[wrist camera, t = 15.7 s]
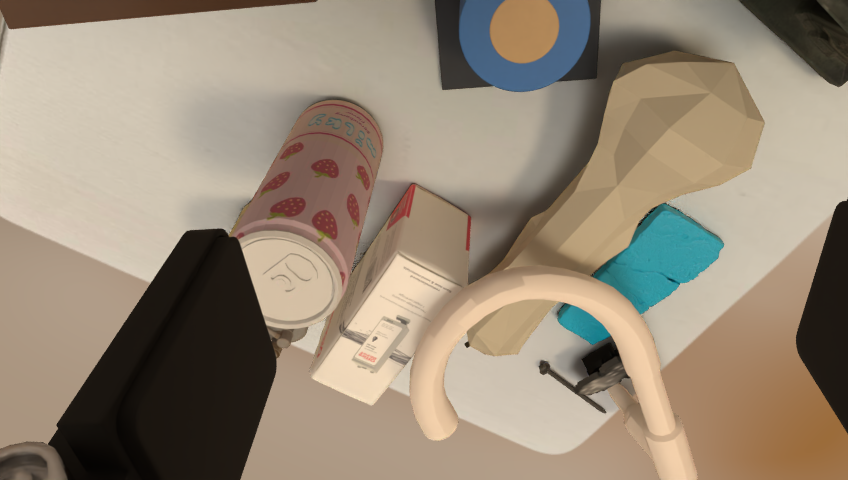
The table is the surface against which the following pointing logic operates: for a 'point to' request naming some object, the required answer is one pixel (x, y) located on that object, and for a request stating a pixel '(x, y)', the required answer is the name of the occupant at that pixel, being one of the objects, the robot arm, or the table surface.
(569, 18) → the tape
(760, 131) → the faceted club
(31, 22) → the tall wooden box
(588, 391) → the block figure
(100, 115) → the table surface
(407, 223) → the ink box
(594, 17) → the mat
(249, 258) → the beverage can
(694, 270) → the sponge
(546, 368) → the screw
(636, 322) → the faucet
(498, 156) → the table surface
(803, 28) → the model
